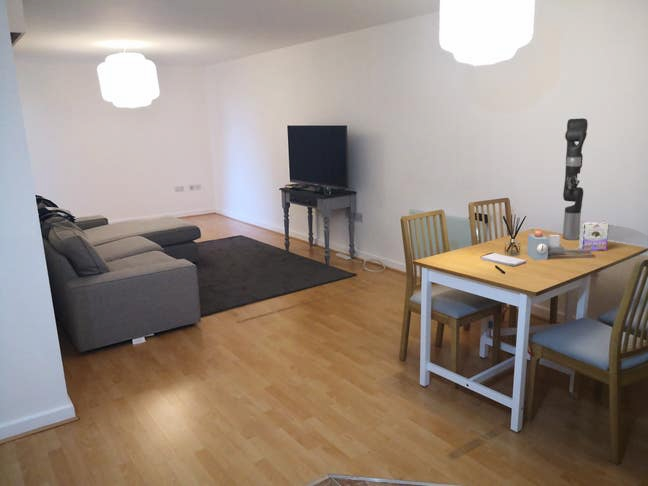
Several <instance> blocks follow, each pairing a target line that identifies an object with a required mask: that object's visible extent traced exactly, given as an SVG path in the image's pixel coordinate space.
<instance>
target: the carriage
mask: <svg viewBox="0 0 648 486" xmlns="http://www.w3.org/2000/svg"><path fill="white" fill-rule="evenodd" d="M548 238H549V245H548V251H549V252H564V250H565V246H562V245H561V244H560V242H561V239H560V238H561V235H559V234H549V235H548Z"/></svg>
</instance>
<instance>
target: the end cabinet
mask: <svg viewBox="0 0 648 486" xmlns="http://www.w3.org/2000/svg"><path fill="white" fill-rule="evenodd" d="M534 235H535V233H527V244H526V245H527V246H526V255H527V256H528V257H530V258H531V259H533V260H534V261H537V260H538V261H541V260H549V259H548V245H549V237H547V236H545V235H543V234H542V237H536V236H534Z"/></svg>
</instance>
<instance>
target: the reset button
mask: <svg viewBox="0 0 648 486" xmlns="http://www.w3.org/2000/svg"><path fill="white" fill-rule="evenodd" d="M534 234H535V235H534V236H536V237H542V235H543V230H542V229H535V230H534Z"/></svg>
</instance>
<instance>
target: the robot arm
mask: <svg viewBox="0 0 648 486" xmlns="http://www.w3.org/2000/svg"><path fill="white" fill-rule="evenodd" d="M588 125H589V123H588V119H587V118H570V119H568V120H567V123H566V132H565V133H564V138H565V140H566V156H565V171H564V173H565V174H564V176H565V177H564V178H565V179H564V186H563V193H562V196H563V197H562V198H563V200H564V201H566V202H573V203H574V204H573V205H570V206H569V205H568V206H565V207H564V215H563V217H564V219H563V229H562V239H563V240H567V241H570V240H571V241H576V240H579V237H580V225H581V215H582V214H581V213H582V208H583V207H582V206H583V199H584V189H583V187H580V186H579V184H580V179H579V180H578V175H579V174H581V168H582V166H583V156H584V155H583V154H582V150H583V145H584V144H585V140H586V138H587V135H588V133H587V131H588ZM576 142H578V143H576Z"/></svg>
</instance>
